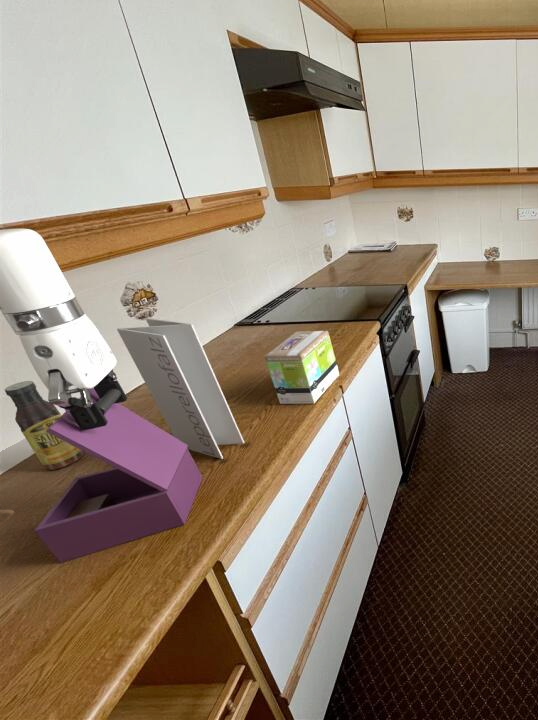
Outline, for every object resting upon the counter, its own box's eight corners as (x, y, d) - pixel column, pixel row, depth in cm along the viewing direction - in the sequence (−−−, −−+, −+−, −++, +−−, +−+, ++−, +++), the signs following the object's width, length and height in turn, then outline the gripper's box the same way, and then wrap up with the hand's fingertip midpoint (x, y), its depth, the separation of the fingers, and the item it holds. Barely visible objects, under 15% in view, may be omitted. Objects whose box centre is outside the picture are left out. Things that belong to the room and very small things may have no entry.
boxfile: (60, 563, 68) (33, 530, 64) (96, 507, 78) (75, 477, 75) (184, 524, 73) (166, 492, 70) (202, 477, 84) (187, 448, 81)
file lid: (45, 431, 60) (74, 410, 60) (87, 389, 71) (112, 371, 71) (163, 492, 70) (188, 473, 70) (184, 447, 80) (206, 431, 81)
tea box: (316, 404, 106) (300, 354, 100) (279, 405, 107) (261, 355, 100) (341, 374, 120) (328, 329, 113) (308, 375, 120) (293, 330, 114)
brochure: (179, 446, 94) (116, 328, 81) (202, 431, 98) (146, 318, 85) (222, 458, 89) (162, 335, 76) (244, 442, 94) (192, 324, 81)
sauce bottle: (56, 474, 88) (0, 397, 79) (40, 468, 90) (-16, 392, 81) (92, 454, 93) (44, 380, 85) (77, 448, 95) (28, 376, 87)
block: (109, 528, 73) (97, 511, 71) (78, 537, 71) (65, 520, 69) (120, 510, 76) (108, 493, 74) (90, 518, 75) (78, 501, 73)
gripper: (45, 332, 54) (111, 438, 61) (105, 294, 68) (152, 383, 76) (-32, 344, 51) (47, 453, 59) (48, 302, 66) (102, 394, 74)
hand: (106, 413), depth 68 cm, fingers open, 6 cm apart
